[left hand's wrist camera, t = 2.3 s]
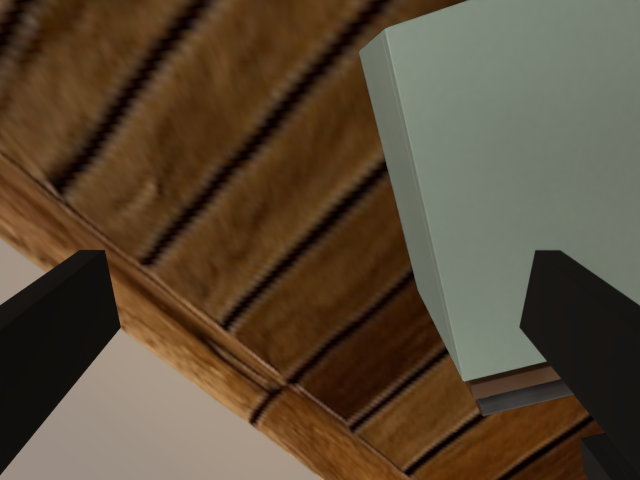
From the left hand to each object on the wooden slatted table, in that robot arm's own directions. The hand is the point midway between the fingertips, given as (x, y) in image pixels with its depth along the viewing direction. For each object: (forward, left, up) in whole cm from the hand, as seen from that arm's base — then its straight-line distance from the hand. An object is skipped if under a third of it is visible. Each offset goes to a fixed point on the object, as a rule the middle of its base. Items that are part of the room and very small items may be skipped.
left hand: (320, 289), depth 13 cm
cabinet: (-8, +8, -20) cm, 23 cm away
